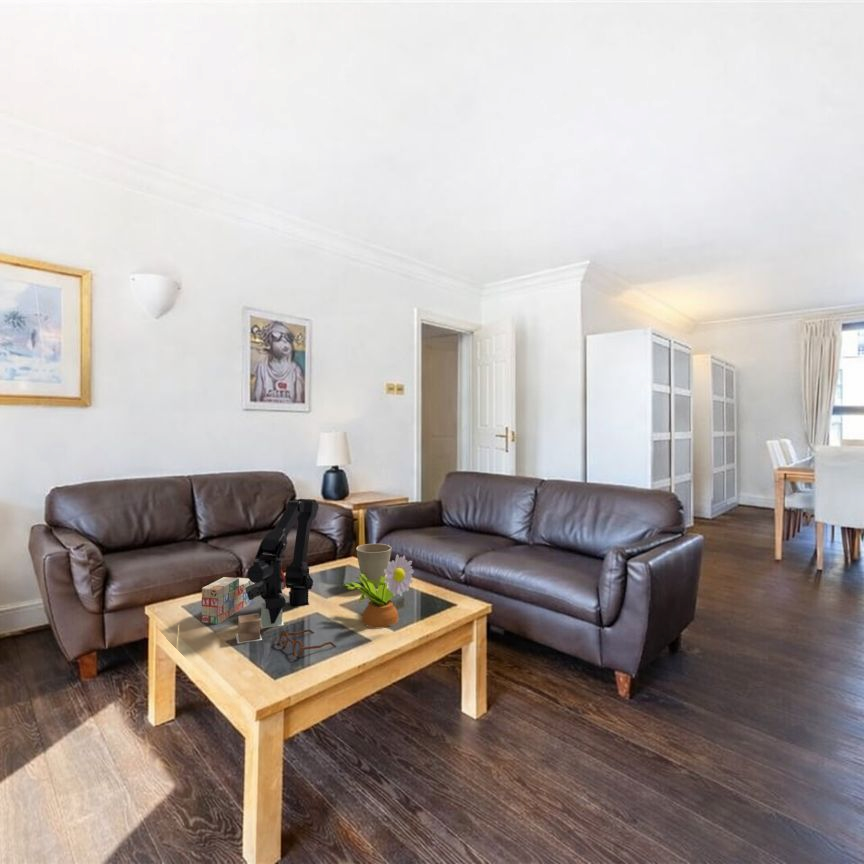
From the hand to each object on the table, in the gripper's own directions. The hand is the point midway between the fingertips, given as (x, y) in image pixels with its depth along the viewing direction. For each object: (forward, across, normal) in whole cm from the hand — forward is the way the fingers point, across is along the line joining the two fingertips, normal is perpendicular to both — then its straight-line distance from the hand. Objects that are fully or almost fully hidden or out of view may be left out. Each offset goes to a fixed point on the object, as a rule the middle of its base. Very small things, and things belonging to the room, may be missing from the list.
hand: (271, 619), depth 167 cm
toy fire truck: (+2, -33, +4) cm, 33 cm away
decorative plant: (+2, +9, +36) cm, 37 cm away
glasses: (+2, +21, +8) cm, 23 cm away
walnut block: (+1, +9, -8) cm, 12 cm away
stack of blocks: (+2, -15, -13) cm, 20 cm away
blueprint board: (+1, +6, -5) cm, 8 cm away
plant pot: (+2, -26, +45) cm, 52 cm away
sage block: (+1, 0, 0) cm, 1 cm away
